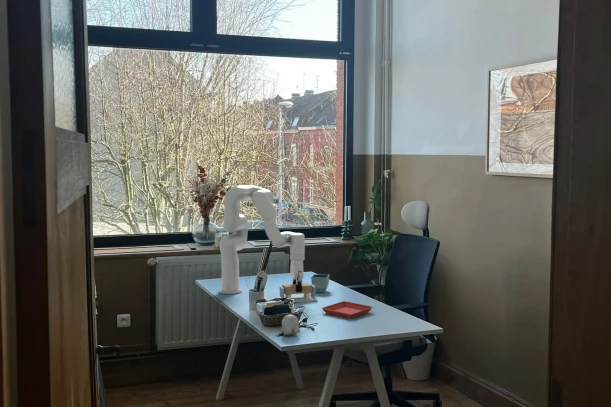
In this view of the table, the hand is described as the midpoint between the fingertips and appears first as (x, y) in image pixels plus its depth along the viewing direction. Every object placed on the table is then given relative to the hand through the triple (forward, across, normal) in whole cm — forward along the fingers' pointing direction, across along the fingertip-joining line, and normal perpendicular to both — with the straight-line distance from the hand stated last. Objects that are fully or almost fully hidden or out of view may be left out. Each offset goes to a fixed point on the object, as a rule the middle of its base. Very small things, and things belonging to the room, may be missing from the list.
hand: (297, 290), depth 336 cm
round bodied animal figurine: (+5, +60, -19) cm, 63 cm away
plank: (+1, 0, 0) cm, 1 cm away
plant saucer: (+5, +33, +16) cm, 37 cm away
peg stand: (+5, 0, 0) cm, 5 cm away
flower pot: (+5, -15, +17) cm, 23 cm away
